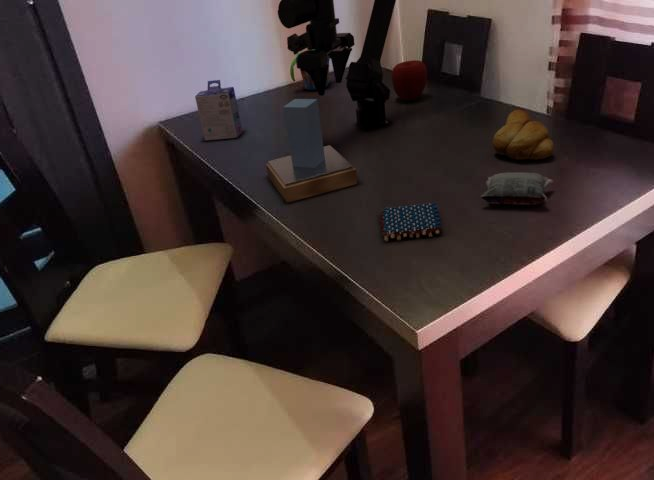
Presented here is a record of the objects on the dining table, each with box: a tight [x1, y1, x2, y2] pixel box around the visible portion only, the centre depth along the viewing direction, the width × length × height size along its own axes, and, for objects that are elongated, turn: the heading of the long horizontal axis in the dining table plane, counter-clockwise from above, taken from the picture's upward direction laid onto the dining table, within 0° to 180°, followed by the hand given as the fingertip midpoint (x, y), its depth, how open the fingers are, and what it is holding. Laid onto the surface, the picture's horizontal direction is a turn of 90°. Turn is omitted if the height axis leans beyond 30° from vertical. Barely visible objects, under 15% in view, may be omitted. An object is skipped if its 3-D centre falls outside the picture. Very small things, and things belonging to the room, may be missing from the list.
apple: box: [390, 59, 428, 102], centre depth 170 cm, size 10×10×10 cm
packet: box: [282, 98, 325, 168], centre depth 133 cm, size 6×5×13 cm
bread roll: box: [492, 108, 555, 161], centre depth 130 cm, size 13×10×8 cm
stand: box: [265, 145, 358, 204], centre depth 138 cm, size 16×16×4 cm
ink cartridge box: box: [194, 79, 244, 142], centre depth 169 cm, size 10×6×14 cm, turn 79°
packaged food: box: [480, 171, 554, 206], centre depth 116 cm, size 9×12×5 cm
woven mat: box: [380, 202, 443, 243], centre depth 115 cm, size 10×11×2 cm
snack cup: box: [289, 49, 331, 91], centre depth 193 cm, size 16×10×10 cm
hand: (330, 89), depth 148 cm, fingers open, 9 cm apart
